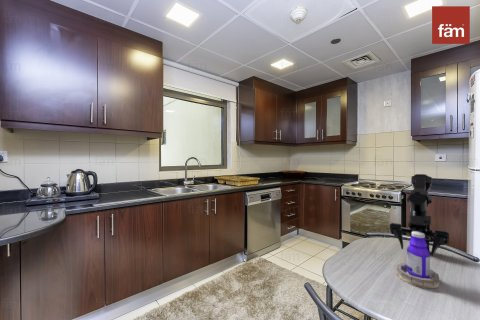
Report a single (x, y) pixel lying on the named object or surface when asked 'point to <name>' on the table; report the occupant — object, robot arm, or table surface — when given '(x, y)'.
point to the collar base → (416, 281)
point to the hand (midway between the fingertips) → (416, 252)
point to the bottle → (418, 256)
